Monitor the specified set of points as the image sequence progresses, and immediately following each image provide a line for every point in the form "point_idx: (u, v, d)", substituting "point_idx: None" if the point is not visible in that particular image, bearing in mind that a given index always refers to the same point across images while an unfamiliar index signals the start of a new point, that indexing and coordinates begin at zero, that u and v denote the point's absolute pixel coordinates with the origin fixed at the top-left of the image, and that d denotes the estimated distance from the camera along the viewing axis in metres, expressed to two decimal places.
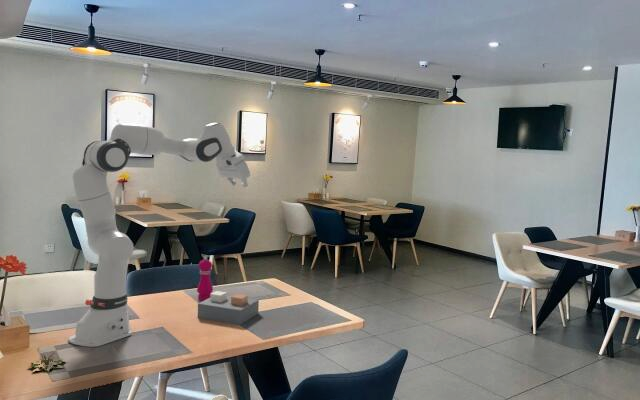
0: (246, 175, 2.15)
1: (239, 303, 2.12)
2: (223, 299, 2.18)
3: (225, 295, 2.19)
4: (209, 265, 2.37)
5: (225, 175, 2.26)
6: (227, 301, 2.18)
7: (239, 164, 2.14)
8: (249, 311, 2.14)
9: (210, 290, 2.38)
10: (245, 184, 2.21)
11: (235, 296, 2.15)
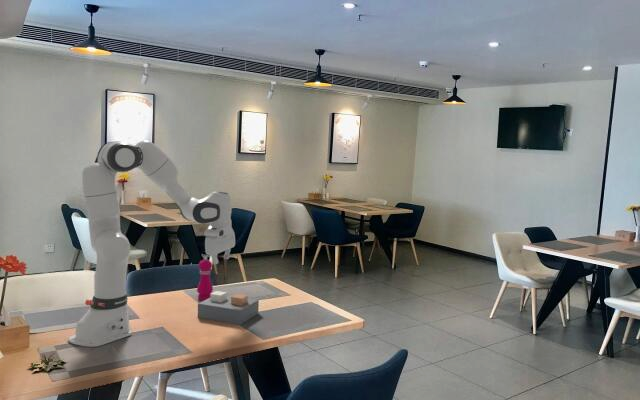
0: (208, 252, 2.08)
1: (239, 303, 2.12)
2: (223, 299, 2.18)
3: (225, 295, 2.19)
4: (209, 265, 2.37)
5: None
6: (227, 301, 2.18)
7: (209, 238, 2.08)
8: (249, 311, 2.14)
9: (210, 290, 2.38)
10: (214, 261, 2.13)
11: (235, 296, 2.15)
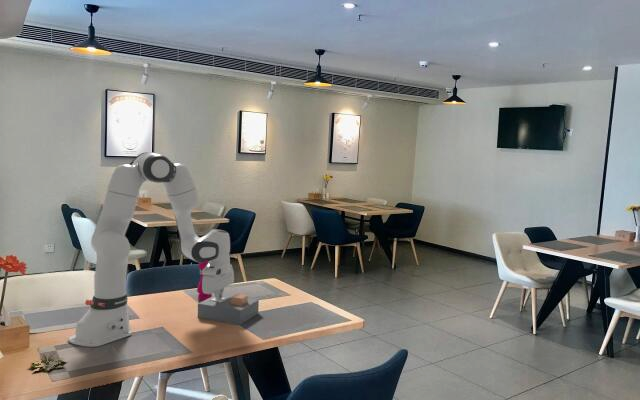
0: (205, 290, 2.09)
1: (239, 303, 2.12)
2: None
3: None
4: None
5: None
6: (227, 301, 2.18)
7: (206, 277, 2.09)
8: (249, 311, 2.14)
9: None
10: (216, 297, 2.17)
11: (235, 296, 2.15)
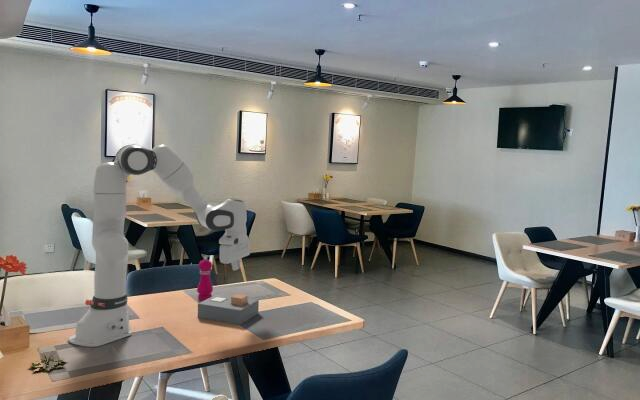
0: (222, 260, 2.05)
1: (239, 303, 2.12)
2: None
3: None
4: (209, 265, 2.37)
5: None
6: (227, 301, 2.18)
7: (223, 246, 2.06)
8: (249, 311, 2.14)
9: (210, 290, 2.38)
10: (234, 267, 2.14)
11: (235, 296, 2.15)
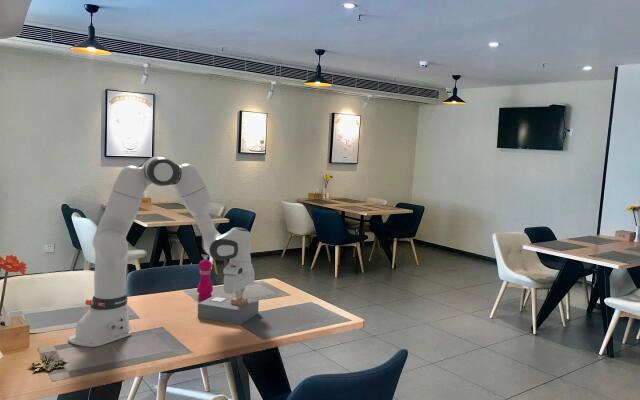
0: (226, 290, 2.05)
1: (239, 305, 2.13)
2: None
3: None
4: (209, 265, 2.37)
5: None
6: (227, 301, 2.18)
7: (227, 276, 2.06)
8: (249, 311, 2.14)
9: (210, 290, 2.38)
10: (237, 296, 2.14)
11: (235, 298, 2.15)
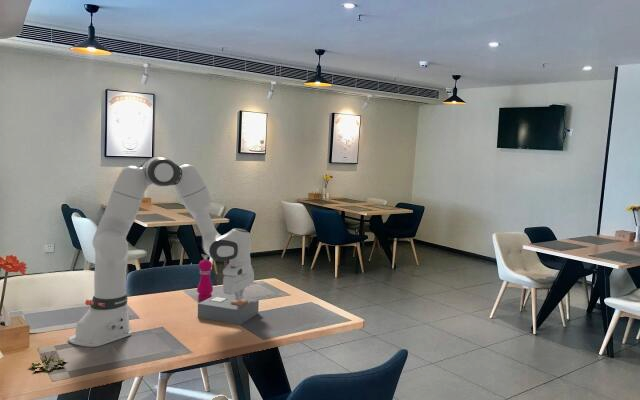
0: (226, 291, 2.05)
1: None
2: None
3: None
4: (209, 265, 2.37)
5: None
6: (227, 301, 2.18)
7: (227, 277, 2.06)
8: (249, 311, 2.14)
9: (210, 290, 2.38)
10: (237, 297, 2.14)
11: (235, 300, 2.15)
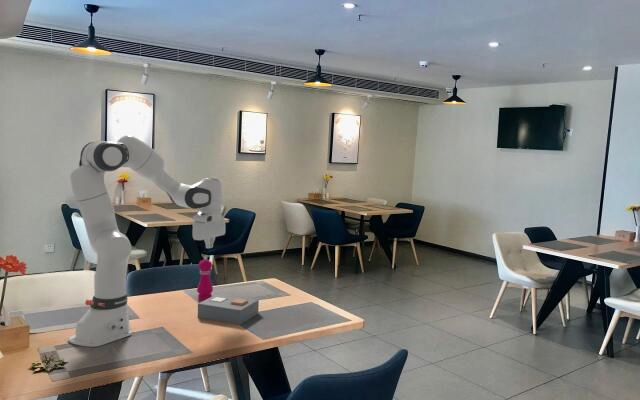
0: (195, 236, 2.10)
1: None
2: None
3: None
4: (209, 265, 2.37)
5: None
6: (227, 301, 2.18)
7: (196, 223, 2.10)
8: (249, 311, 2.14)
9: (210, 290, 2.38)
10: (207, 245, 2.18)
11: (235, 300, 2.15)
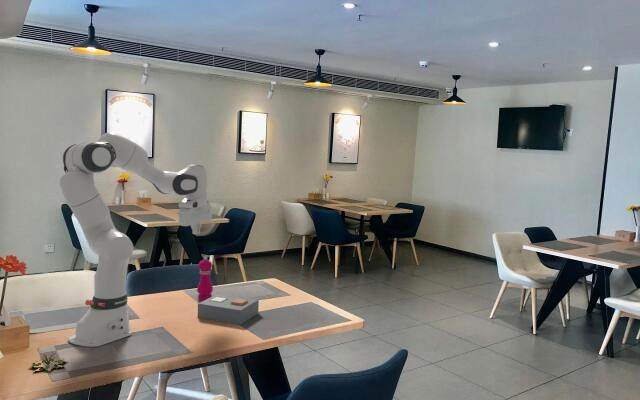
0: (181, 222, 2.12)
1: None
2: None
3: None
4: (209, 265, 2.37)
5: None
6: (227, 301, 2.18)
7: (182, 209, 2.13)
8: (249, 311, 2.14)
9: (210, 290, 2.38)
10: (194, 231, 2.21)
11: (235, 300, 2.15)
